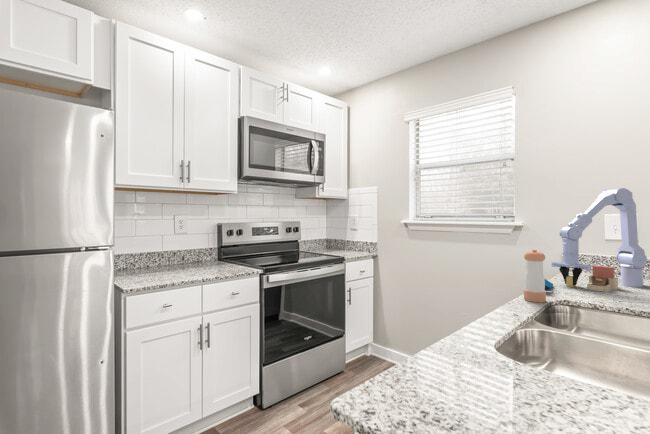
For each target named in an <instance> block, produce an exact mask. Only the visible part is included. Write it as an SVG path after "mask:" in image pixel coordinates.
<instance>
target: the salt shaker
mask: <svg viewBox="0 0 650 434" xmlns="http://www.w3.org/2000/svg"><path fill="white" fill-rule="evenodd" d="M523 258H524V260H526V262H525V264H526V266H525V267H526V270H525V271H526V272H525V277H524V290H523V300H524V299H525V300H524V301H526V300H527V302H531V301H532V302H531V303H545V301H546V302H547V292H546V290H545V289H546V288H545V280H544V279H545V276H544V275H545V274H544V261H545V259H546V255H545V254H544V253H543V252H540V251H538V250H537V249H532V250H531V251H528V252H525V253H524V255H523Z"/></svg>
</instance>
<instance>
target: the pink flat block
mask: <svg viewBox="0 0 650 434" xmlns="http://www.w3.org/2000/svg"><path fill="white" fill-rule="evenodd" d="M592 275H595V278H601V279H602V277H604V276H606V279H608V278H613V279H615V275H616V274H615V267H614V266H603V265H593V266H592Z"/></svg>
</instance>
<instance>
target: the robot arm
mask: <svg viewBox="0 0 650 434" xmlns="http://www.w3.org/2000/svg"><path fill="white" fill-rule="evenodd" d="M607 206H613V207H615V208H616V209H618V210H619V218H620V237H621V239H620V240H621V245H620V246H619V247H618V248H617V254H616V256H615V260H616V261H617V263H618V264H619V266H620V286H622V287H628V288H643V286H644V271H643V269H644V268H645V266H646V265H647V263H648V258H647V254H646V253H645V249H644V248H643V247H642V246H640V245H639V235H638V218H637V205H636V202H635V200H634V199H633V192H632V191H630V190H629V189H627V188H625V187H622V188H615V189H604V190H603V191H602V192H601V193H600V194H598V195H597V198H596V199H595V201H593V203H592V204H591V205H590V206H589V208H588V209H587V210H586V211H585V212H584V213H579V214H576V215H575V218H574V219H572V221H571V222H569V223H568V224H567V226H564V227H562V228H561V230H560V232H559V236H560V238H561V239H562V262H557V261H551V267H554V268H555V267H556V268H558V269H559V272H560V274H561V275H562V277H563V281H564V284H565V285H566V277H567V276H570V275H569V273H570V269H571V271H572V276H573V285H575V286H577V284H578V280H579V278H580V276H581V274H582V272H583V270H586V271H591V270H592V265H591V264H583V263H580V260H579V258H580V257H579V256H580V255H579V253H580V252H579V244H580V243H579V242H580V241H579V239H581V238H582V236H583V232H584V231H585V230H586V228H588V227H589V226H590V225H591V224H592V223H593V218H594V217H595V216H596V215H597V214H599V212H601V211H602V210H603V209H605V208H606V207H607Z"/></svg>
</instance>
